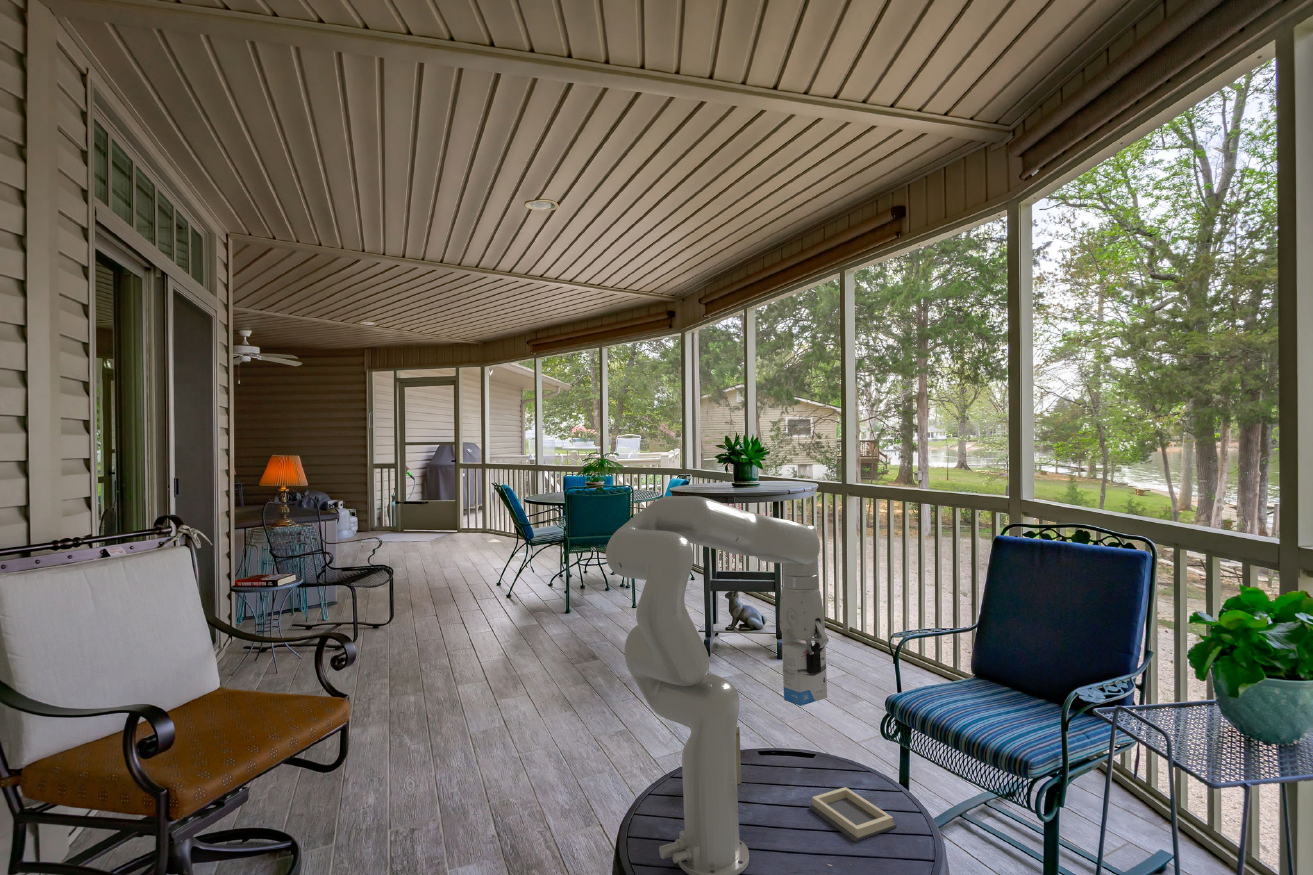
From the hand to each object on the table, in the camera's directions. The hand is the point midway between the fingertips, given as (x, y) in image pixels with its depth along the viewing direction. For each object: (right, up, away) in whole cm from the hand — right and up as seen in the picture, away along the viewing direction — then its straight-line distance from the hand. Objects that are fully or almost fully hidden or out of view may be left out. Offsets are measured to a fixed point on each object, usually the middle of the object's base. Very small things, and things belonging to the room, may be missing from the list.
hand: (804, 667), depth 136 cm
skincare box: (-16, -26, +4) cm, 31 cm away
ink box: (0, -7, 0) cm, 7 cm away
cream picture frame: (+6, -24, -12) cm, 28 cm away
